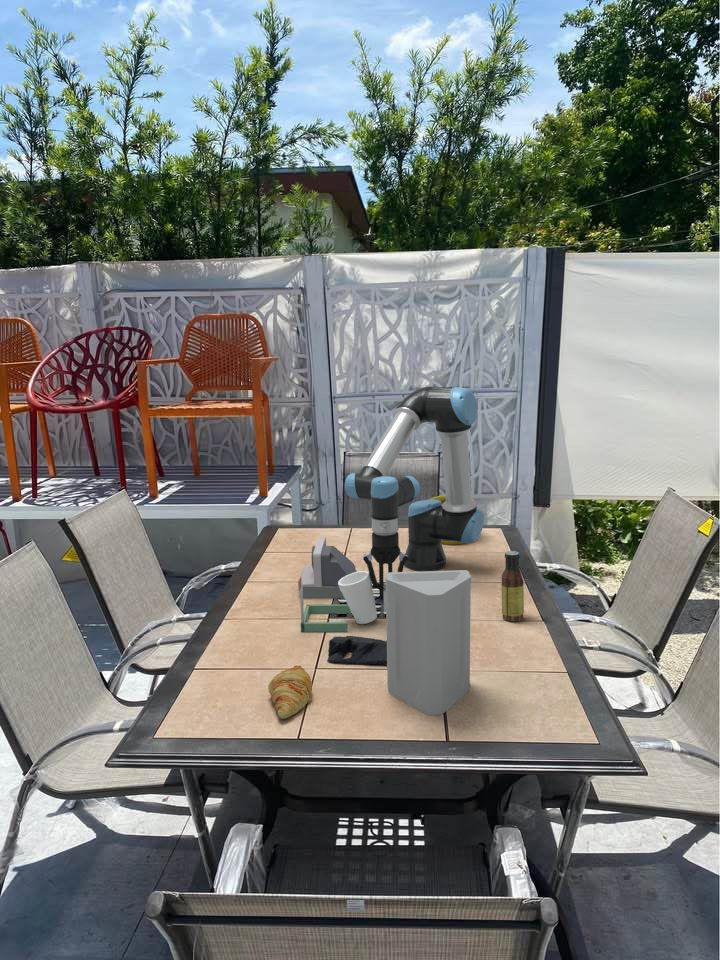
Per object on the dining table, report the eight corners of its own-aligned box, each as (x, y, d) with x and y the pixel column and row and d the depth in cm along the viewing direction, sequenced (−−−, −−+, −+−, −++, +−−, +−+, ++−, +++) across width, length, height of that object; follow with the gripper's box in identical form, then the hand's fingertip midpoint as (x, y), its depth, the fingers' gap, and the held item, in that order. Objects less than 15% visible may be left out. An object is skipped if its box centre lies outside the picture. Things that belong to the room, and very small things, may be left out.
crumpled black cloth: (406, 673, 174) (406, 655, 173) (322, 664, 180) (321, 647, 179) (418, 646, 189) (417, 630, 188) (339, 639, 195) (339, 622, 194)
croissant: (297, 737, 153) (313, 708, 151) (255, 718, 153) (270, 688, 151) (309, 687, 174) (323, 661, 172) (272, 669, 173) (286, 643, 171)
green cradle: (349, 612, 211) (348, 559, 208) (346, 637, 194) (344, 580, 191) (306, 612, 212) (304, 560, 209) (299, 637, 195) (296, 581, 191)
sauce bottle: (527, 617, 204) (529, 552, 200) (516, 624, 200) (518, 557, 196) (508, 612, 209) (509, 548, 204) (496, 618, 204) (497, 553, 200)
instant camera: (307, 575, 244) (306, 534, 241) (366, 578, 240) (365, 536, 237) (289, 598, 224) (287, 553, 221) (353, 602, 220) (352, 556, 217)
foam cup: (382, 621, 199) (368, 579, 197) (351, 629, 200) (337, 588, 197) (382, 608, 208) (369, 568, 206) (352, 616, 209) (339, 576, 207)
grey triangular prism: (391, 716, 154) (389, 596, 148) (387, 683, 169) (385, 572, 163) (478, 713, 155) (479, 593, 149) (466, 680, 169) (467, 570, 163)
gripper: (361, 535, 195) (363, 615, 200) (408, 535, 194) (409, 615, 199) (362, 528, 202) (364, 605, 207) (407, 527, 202) (408, 605, 207)
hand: (386, 610), depth 203 cm, fingers closed
